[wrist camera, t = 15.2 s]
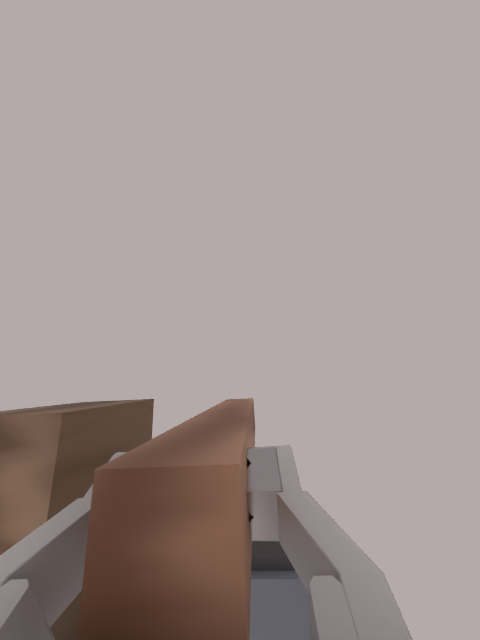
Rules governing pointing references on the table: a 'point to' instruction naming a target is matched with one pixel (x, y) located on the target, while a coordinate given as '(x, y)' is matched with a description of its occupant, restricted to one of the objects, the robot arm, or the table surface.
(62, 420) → the post
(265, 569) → the dock
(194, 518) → the bar
